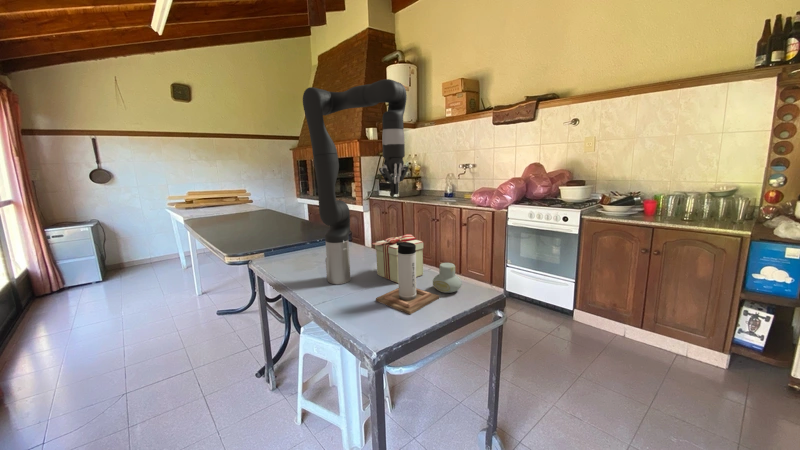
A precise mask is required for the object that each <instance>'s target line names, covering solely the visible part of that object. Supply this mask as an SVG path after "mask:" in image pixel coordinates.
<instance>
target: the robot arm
mask: <svg viewBox="0 0 800 450" xmlns="http://www.w3.org/2000/svg"><path fill="white" fill-rule="evenodd" d="M407 99H408V98H407V89H406V87H405V86H404V85H403V83H401V82H398V81H396V80H393V79H391V78H389V79H388V78H386V79H380V80H378V81H375V82H372V83H369V84H362V85H357V86H353V87H351V88H348V89H347V90H344V91H339V92H338V91H327V90H326V89H320V88H317V87H314V86H310V87H307V88H306V89H305V90H304V92H303V94H302V106H303V112H304V115H305V118H306V124H307V127H308V132H309V137H310V138H309V139H310V143H311V149H312V150H311V151H312V156H313V157H312V158H313V164H314V169H315V171H314V172H315V176H316V185H317V192H318V193H317V194H318V196H317V197H318V212H319V217H320V220H321V221H322V223H323V224H324V225H326V226H329V229H328V230H327V232H326V233H325V235H324V239H325V240H324V241H325V252H326V253H325V254H326V256H325V269H326V270H325V271H326V281H328V283H330V284H333V285H341V284H342V285H343V284H347V283H348V282H350V281H351V263H350V262H351V261H350V243H349V240H350V239H349V235H350V231H351V213H350V208H349V205H348V204H347V203H346V202H345V201H343V200H340V199H337V196H336V184H337V179H338V175H339V168H340V163H339V155H338V149H337V146H336V144H335V143H334V140H333V139H332V138H331V136H330V134H329V133H328V131H327V130H328V129H327V128H326V125H325V121H324V116H329V115H331V114H334V113H337V112H340V111H344V110H348V109H355V108H356V109H357V108H367V107H374V106H377V105H378V104H380V103H388V105H387V111H385V112H383V114H382V139H381V140H382V157H383V158H384V161H383V166H382V167H379V168H378V171H379V173H380V175H381V176H382V178H383V180H384V181H385V183H389V184H390V187H389V188H390V190H389V191H390V193H391V195H398V194H399V191H400V190H399V189H400V187H399V185H400V183H401V182H403V181H404V178H405V177H406V175H407V173H408V171H409V166H406V165H405V162H404V158H405V154H406V153H405V143H406V142H405V130H404V115H405V111H406V104H407Z"/></svg>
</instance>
